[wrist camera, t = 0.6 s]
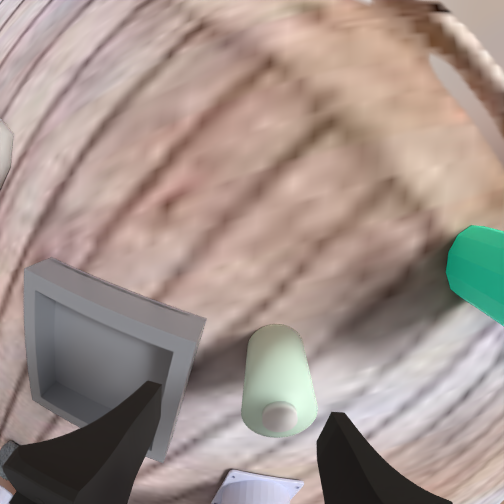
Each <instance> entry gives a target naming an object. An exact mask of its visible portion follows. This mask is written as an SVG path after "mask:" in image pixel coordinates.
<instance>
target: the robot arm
mask: <svg viewBox="0 0 504 504" xmlns="http://www.w3.org/2000/svg"><path fill="white" fill-rule="evenodd" d="M161 394H162V384H159V383H155V382H152V381H146V382H145V383H144V384H143V385H142V386H140V387H139V388H138V389H137V390H136V391H135V392H134V393H133V394H131V395H130V396H129V397H128V398H127V399H125V400H124V401H123V402H122V403H120V404H119V405H118V406H116V407H115V408H114V409H112V410H111V411H109V412H108V413H106V414H105V415H103V416H102V417H100V418H99V419H97V420H95V421H94V422H92V423H90V424H88V425H86V426H84V427H82V428H80V429H78V430H76V431H73V432H71V433H69V434H66V435H63V436H60V437H57V438H54V439H51V440H47V441H43V442H39V443H33V444H27V445H20V446H18V447H17V448H16V449H15V450H14V451H13V453H12V454H11V455H10V457H9V458H8V459H7V461H6V462H5V463H4V465H3V466H2V468H3V472H4V474H5V475H6V477H7V478H8V480H9V481H10V483H11V484H12V485H13V487H14V488H15V489H16V493H15V495H14V496H13V495H12V494H11V493H10V492H9V491H8V490H6V489H5V488H4V487H2V486H1V485H0V504H127V503H128V499H129V496H130V493H131V489H132V486H133V483H134V480H135V478H136V475H137V473H138V471H139V468H140V466H141V464H142V462H143V460H144V458H145V456H146V454H147V451H148V449H149V447H150V445H151V443H152V441H153V439H154V436H155V434H156V431H157V428H158V424H159V421H160V418H161ZM317 462H318V468H319V474H320V479H321V484H322V490H323V495H324V501H325V504H453V503H452V502H451V501H449V500H446V499H444V498H441V497H439V496H436V495H434V494H432V493H430V492H428V491H426V490H424V489H422V488H421V487H419V486H417V485H416V484H414V483H413V482H411V481H410V480H408V479H407V478H405V477H404V476H403V475H401V474H400V473H399V472H397V471H396V470H395V469H394V468H393V467H392V466H390V465H389V464H388V463H387V462H386V461H385V460H384V459H383V458H382V457H381V456H380V455H379V454H378V453H377V452H376V451H375V450H374V449H373V447H372V446H371V445H370V444H369V443H368V442H367V440H366V439H365V438H364V437H363V436H362V434H361V433H360V432H359V431H358V429H357V428H356V427H355V425H354V424H353V423H352V422H351V420H350V419H349V418H348V416H347V415H346V414H345V413H342V412H331V414H330V416H329V418H328V420H327V422H326V424H325V426H324V428H323V430H322V432H321V434H320V436H319V438H318V440H317ZM303 485H304V482H303V481H300V480H291V479H284V478H277V477H270V476H264V475H259V474H253V473H248V472H243V471H238V470H230V471H229V473H228V474H227V476H226V478H225V480H224V481H223V483H222V485H221V486H220V488H219V490H218V492H217V493H216V495H215V497H214V498H213V500H212V501H211V503H210V504H290V500H291V499H292V498H293V496H294V495H295V494H296V493H297V492H298V491H299V490H300V489H301V488H302V487H303Z"/></svg>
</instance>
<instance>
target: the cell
mask: <svg viewBox="0 0 504 504" xmlns="http://www.w3.org/2000/svg"><path fill="white" fill-rule="evenodd" d="M317 411H318V407H317V402H316V398H315V393H314V389H313V385H312V380H311V376H310V371H309V367H308V363H307V359H306V354H305V350H304V346H303V342H302V339H301V337H300V335H299V334H298V333H297V332H296V331H295V330H294V329H292V328H290V327H288V326H286V325H281V324H272V325H267V326H264V327H262V328H260V329H258V330H257V331H256V332H255V333H254V334H253V335H252V336H251V338H250V340H249V342H248V347H247V358H246V368H245V378H244V388H243V398H242V408H241V416H242V419H243V422H244V423H245V425H246V426H247V427H248V428H249V429H251V430H252V431H254V432H255V433H257V434H260V435H263V436H266V437H274V438H280V437H288V436H292V435H295V434H297V433H300V432H302V431H303V430H305V429H306V428H308V427H309V426H310V425H311V424H312V422H313V421H314V420H315V418H316V415H317Z"/></svg>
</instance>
